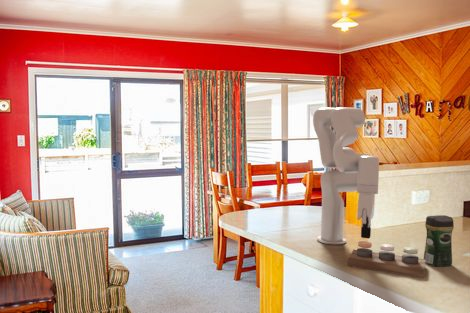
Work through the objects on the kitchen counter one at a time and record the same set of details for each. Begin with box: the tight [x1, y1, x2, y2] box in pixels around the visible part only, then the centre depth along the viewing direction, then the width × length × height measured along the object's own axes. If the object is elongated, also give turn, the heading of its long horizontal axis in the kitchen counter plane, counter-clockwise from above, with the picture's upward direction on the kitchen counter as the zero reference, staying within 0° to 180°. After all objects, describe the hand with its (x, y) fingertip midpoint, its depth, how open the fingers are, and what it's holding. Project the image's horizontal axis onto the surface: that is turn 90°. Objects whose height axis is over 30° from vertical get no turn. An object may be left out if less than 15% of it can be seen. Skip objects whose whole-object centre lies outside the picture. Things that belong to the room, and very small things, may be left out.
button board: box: [347, 247, 426, 278], centre depth 163 cm, size 12×26×5 cm, turn 65°
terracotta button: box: [357, 240, 373, 249], centre depth 166 cm, size 5×5×1 cm
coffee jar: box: [423, 214, 455, 267], centre depth 167 cm, size 10×8×19 cm
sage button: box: [403, 246, 419, 255], centre depth 160 cm, size 5×5×1 cm
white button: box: [379, 243, 395, 252], centre depth 163 cm, size 5×5×1 cm
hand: (365, 237), depth 166 cm, fingers closed
